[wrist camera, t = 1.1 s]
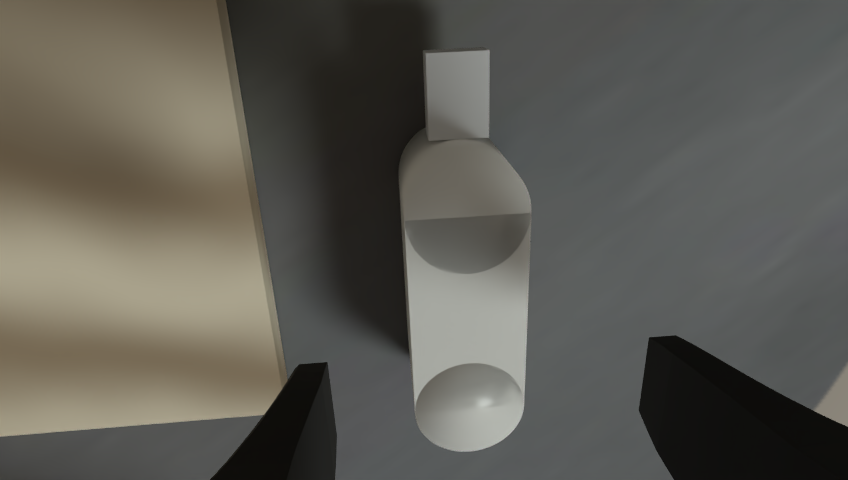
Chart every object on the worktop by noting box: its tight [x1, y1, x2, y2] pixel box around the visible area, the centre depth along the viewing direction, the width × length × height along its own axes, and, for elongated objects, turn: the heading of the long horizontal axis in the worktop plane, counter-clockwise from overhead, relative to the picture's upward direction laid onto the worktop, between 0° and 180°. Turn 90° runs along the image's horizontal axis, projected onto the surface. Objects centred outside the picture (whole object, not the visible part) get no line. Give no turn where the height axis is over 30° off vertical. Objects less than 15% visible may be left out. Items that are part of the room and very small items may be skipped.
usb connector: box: [398, 47, 531, 452], centre depth 17 cm, size 11×3×4 cm, turn 2°
